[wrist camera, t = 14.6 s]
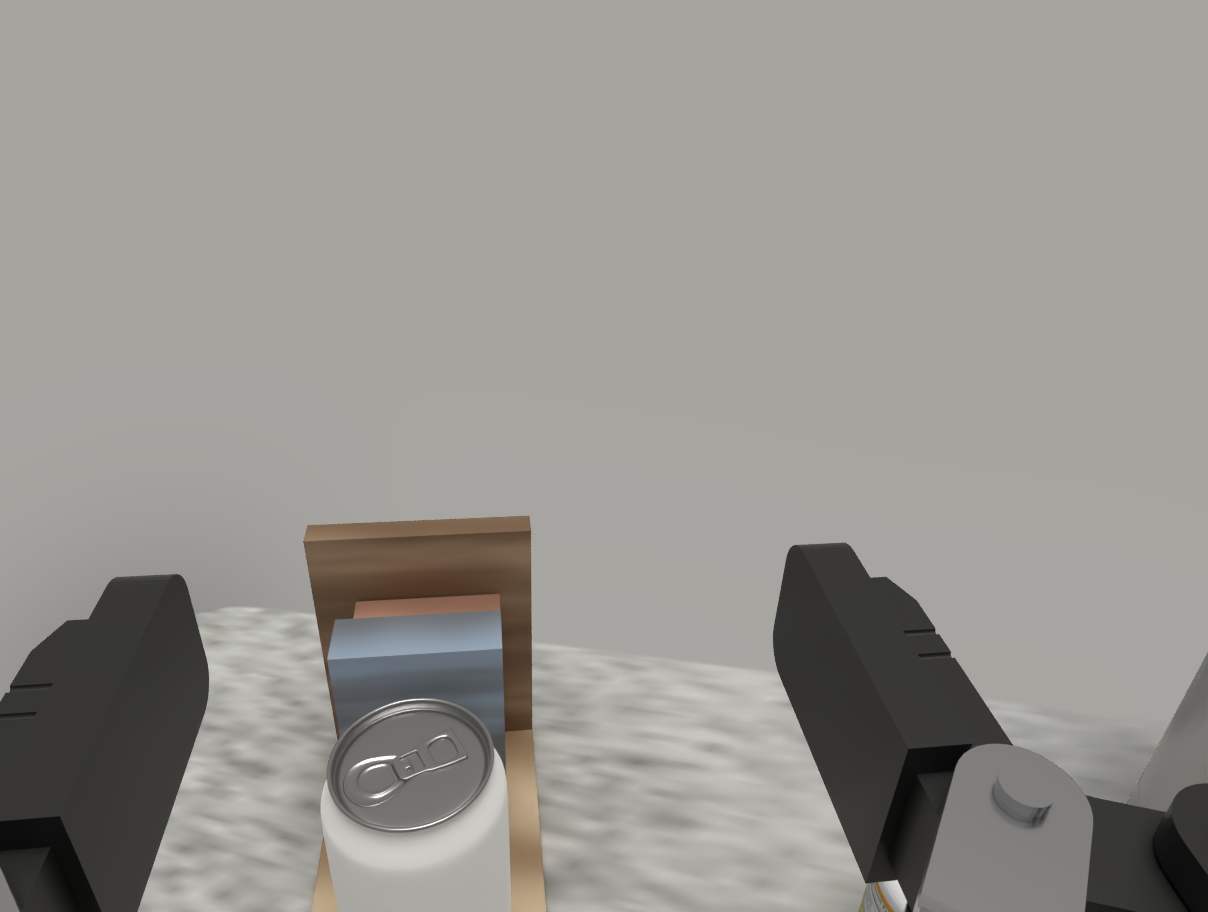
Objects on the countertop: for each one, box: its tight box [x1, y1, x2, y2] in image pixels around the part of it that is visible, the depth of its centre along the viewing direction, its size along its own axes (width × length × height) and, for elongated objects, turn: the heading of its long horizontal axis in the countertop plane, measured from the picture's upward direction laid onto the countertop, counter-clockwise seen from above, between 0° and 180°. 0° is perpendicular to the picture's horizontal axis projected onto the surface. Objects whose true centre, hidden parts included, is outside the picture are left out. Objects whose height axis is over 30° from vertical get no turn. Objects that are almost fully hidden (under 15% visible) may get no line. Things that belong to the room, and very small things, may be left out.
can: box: [321, 698, 511, 912], centre depth 33 cm, size 6×6×12 cm
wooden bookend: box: [303, 516, 546, 912], centre depth 37 cm, size 17×10×14 cm, turn 7°
